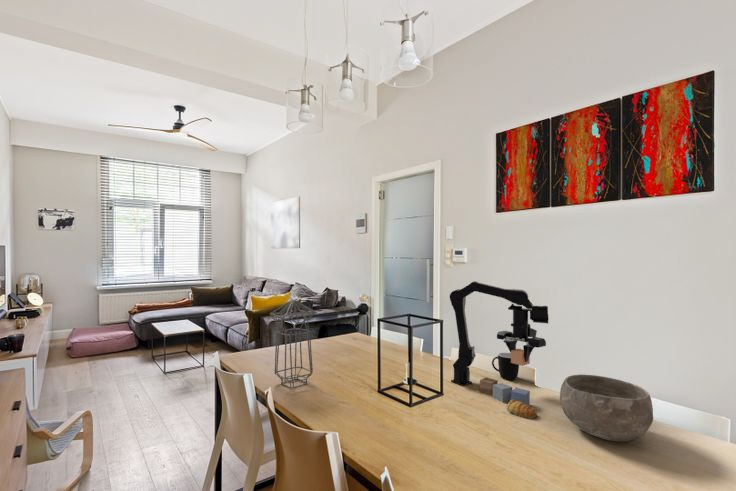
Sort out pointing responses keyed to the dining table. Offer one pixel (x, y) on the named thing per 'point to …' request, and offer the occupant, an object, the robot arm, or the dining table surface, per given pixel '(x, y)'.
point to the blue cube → (521, 395)
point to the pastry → (521, 409)
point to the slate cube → (502, 392)
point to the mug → (506, 366)
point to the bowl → (607, 407)
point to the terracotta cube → (518, 357)
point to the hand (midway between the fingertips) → (520, 360)
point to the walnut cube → (487, 386)
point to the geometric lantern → (289, 306)
